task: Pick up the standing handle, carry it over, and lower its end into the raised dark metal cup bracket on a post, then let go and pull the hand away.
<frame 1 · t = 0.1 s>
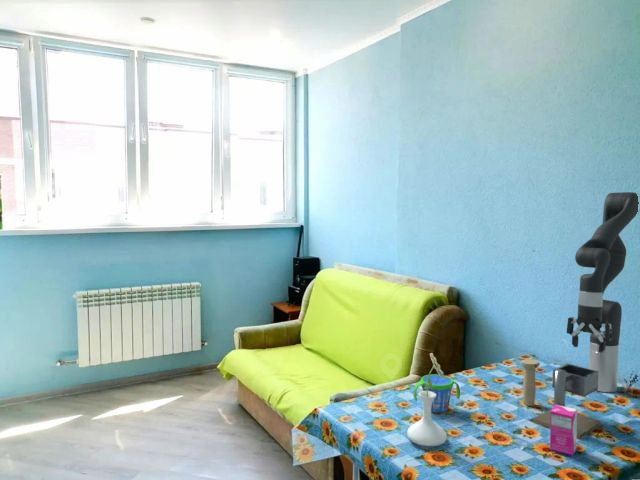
hand: (588, 349, 168), 17 cm above the table, tool pointing down, fingers open, 8 cm apart
snack cup: (436, 409, 159), on the table
flower in vase: (427, 440, 138), on the table
supplement box: (563, 450, 132), on the table
handle: (528, 405, 163), on the table
cup bracket: (574, 419, 151), on the table
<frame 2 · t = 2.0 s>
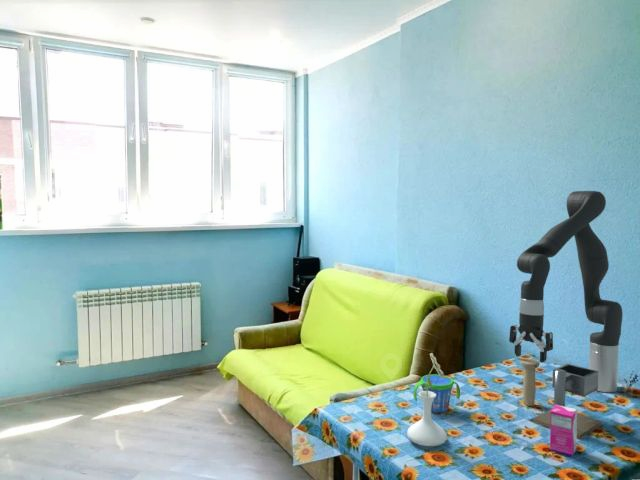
hand: (530, 358, 161), 16 cm above the table, tool pointing down, fingers open, 8 cm apart
nothing on the table moved.
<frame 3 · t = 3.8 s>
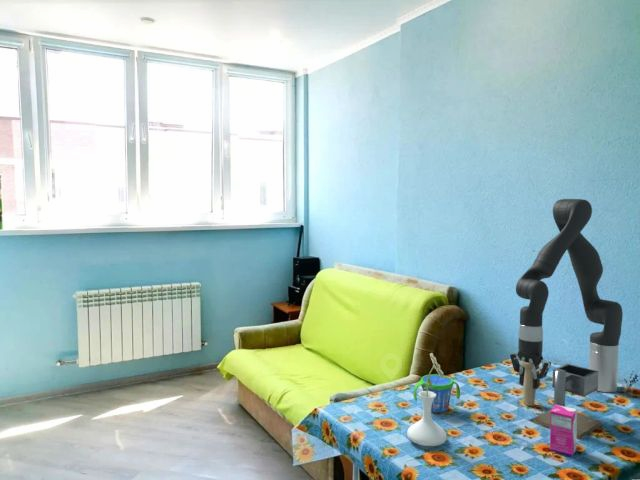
hand: (529, 386, 162), 6 cm above the table, tool pointing down, fingers closed on handle, 4 cm apart
handle: (528, 405, 163), on the table, touching gripper
everything else where it was.
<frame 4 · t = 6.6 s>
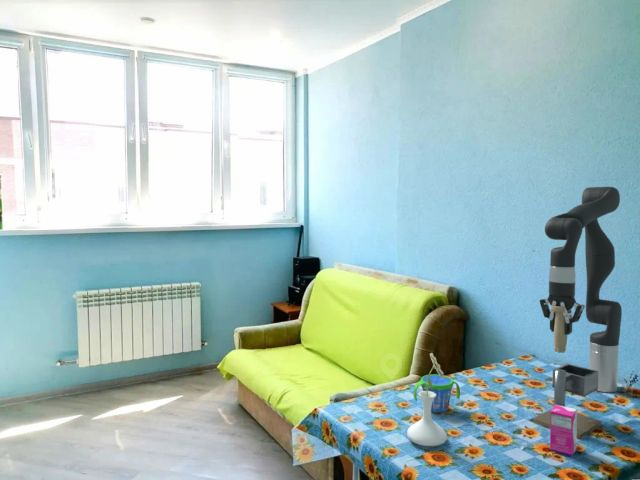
hand: (560, 332, 153), 27 cm above the table, tool pointing down, fingers closed on handle, 4 cm apart
handle: (560, 352, 153), point 21 cm above the table, touching gripper
everything else where it was.
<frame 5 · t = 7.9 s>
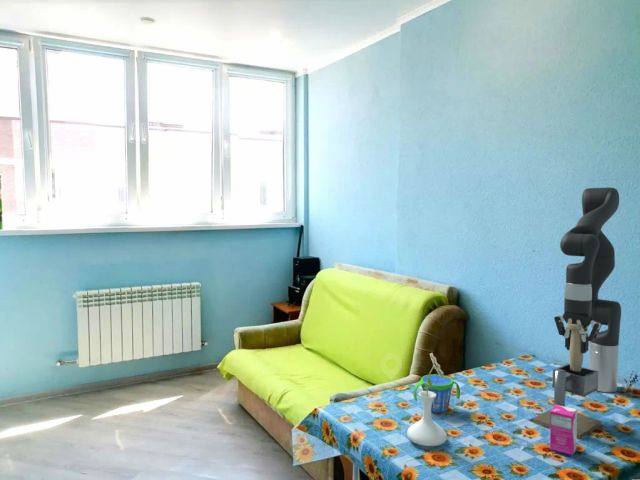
hand: (576, 350, 149), 22 cm above the table, tool pointing down, fingers closed on handle, 4 cm apart
handle: (575, 371, 150), point 16 cm above the table, touching gripper
everything else where it was.
when the fingers open (19 cm above the table, at t = 9.3 s): handle drops 1 cm, resting on cup bracket.
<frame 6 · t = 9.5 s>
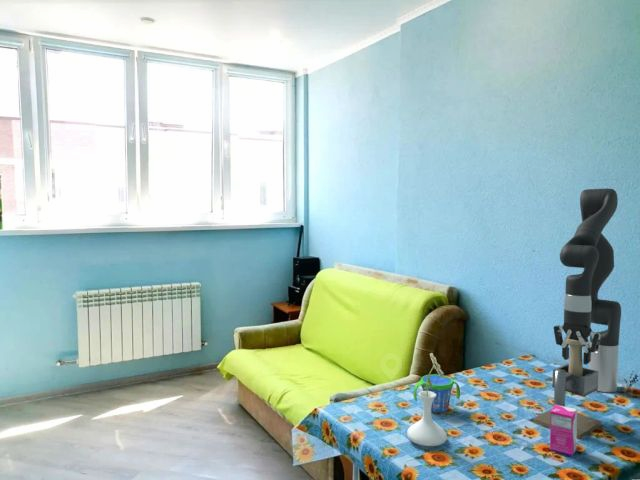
hand: (575, 361, 149), 19 cm above the table, tool pointing down, fingers open, 5 cm apart
handle: (575, 386, 150), point 11 cm above the table, touching cup bracket
everything else where it was.
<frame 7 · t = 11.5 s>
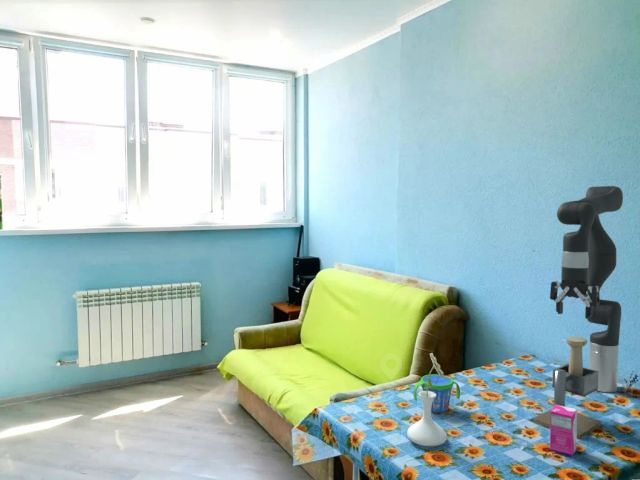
hand: (573, 315, 151), 33 cm above the table, tool pointing down, fingers open, 8 cm apart
nothing on the table moved.
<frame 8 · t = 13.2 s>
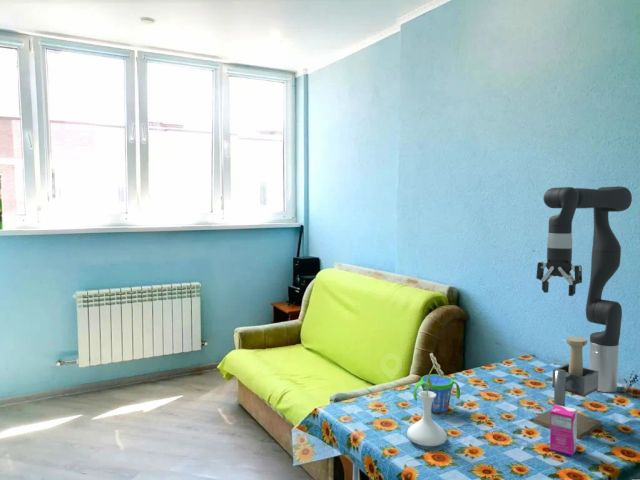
hand: (558, 294, 161), 38 cm above the table, tool pointing down, fingers open, 8 cm apart
nothing on the table moved.
at the end: handle 0.1 cm off-centre on the cup bracket, point 10.8 cm above the cup bracket's base; handle tilted 0°; the gripper is holding nothing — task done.
